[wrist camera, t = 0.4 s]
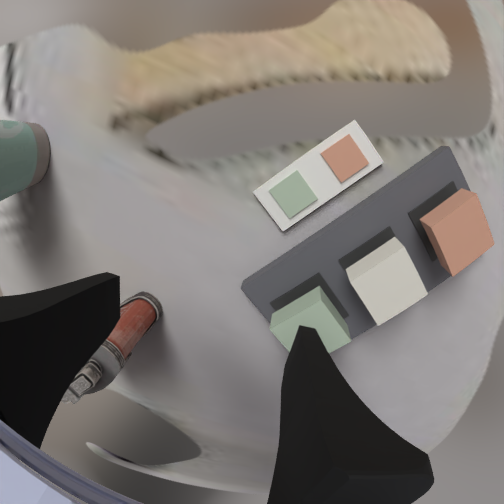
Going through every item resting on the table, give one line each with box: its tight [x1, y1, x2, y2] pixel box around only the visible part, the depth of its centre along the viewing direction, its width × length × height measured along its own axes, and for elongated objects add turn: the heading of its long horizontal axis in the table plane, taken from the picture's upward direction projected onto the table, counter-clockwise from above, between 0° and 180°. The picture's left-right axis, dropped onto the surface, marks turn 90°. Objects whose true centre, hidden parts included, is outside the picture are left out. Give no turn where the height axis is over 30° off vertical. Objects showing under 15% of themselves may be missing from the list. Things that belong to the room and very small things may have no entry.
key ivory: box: [346, 237, 428, 326], centre depth 16 cm, size 4×4×2 cm
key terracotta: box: [420, 188, 494, 277], centre depth 15 cm, size 4×4×2 cm
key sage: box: [270, 286, 351, 353], centre depth 18 cm, size 4×4×2 cm
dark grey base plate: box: [241, 146, 470, 339], centre depth 19 cm, size 8×17×1 cm, turn 128°
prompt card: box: [253, 120, 383, 231], centre depth 18 cm, size 3×8×1 cm, turn 128°
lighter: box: [61, 291, 162, 404], centre depth 20 cm, size 8×3×10 cm, turn 130°
